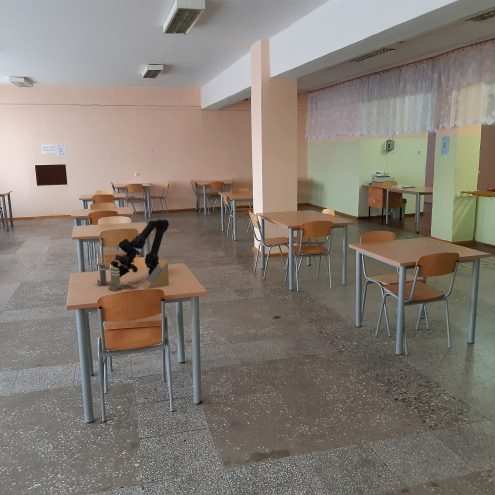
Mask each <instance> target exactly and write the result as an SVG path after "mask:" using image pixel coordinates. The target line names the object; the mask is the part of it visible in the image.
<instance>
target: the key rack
mask: <svg viewBox="0 0 495 495" xmlns="http://www.w3.org/2000/svg"><path fill="white" fill-rule="evenodd" d="M96 280H97V285H98V287H106V286H108V290H109V291H112V292H119V291H121V290H124V289H127V286H126V285H121V284H120V288H118V289H117V288H116V286H113V285H111V280H108V281H107V280H106V283H107V284H102V283H101V281H100V279H96Z"/></svg>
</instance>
